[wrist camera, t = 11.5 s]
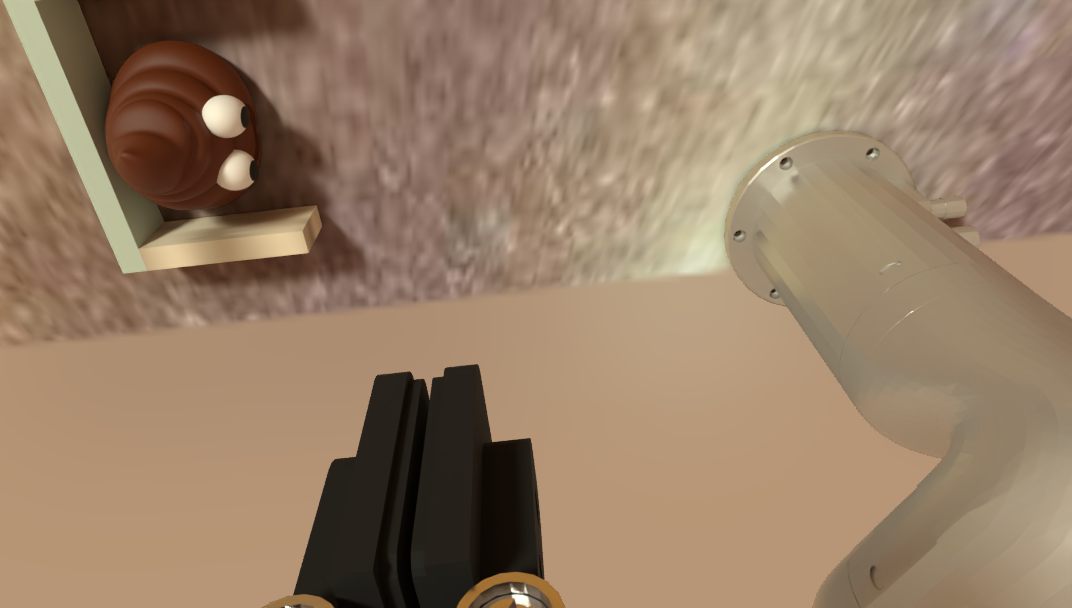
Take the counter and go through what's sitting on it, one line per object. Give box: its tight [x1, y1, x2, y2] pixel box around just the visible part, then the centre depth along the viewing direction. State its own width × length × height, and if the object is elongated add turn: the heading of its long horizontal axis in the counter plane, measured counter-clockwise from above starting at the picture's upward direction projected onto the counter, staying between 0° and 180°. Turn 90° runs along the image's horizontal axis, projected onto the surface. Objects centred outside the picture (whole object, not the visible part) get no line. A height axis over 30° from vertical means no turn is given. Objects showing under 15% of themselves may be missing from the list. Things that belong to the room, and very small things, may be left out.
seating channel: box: [3, 0, 322, 273], centre depth 42 cm, size 12×17×4 cm
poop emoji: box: [105, 40, 261, 210], centre depth 40 cm, size 10×8×9 cm
